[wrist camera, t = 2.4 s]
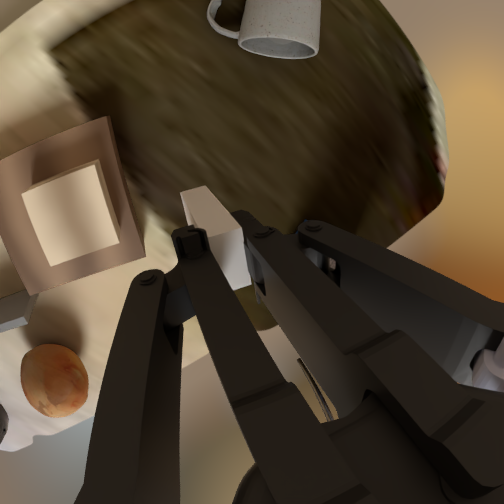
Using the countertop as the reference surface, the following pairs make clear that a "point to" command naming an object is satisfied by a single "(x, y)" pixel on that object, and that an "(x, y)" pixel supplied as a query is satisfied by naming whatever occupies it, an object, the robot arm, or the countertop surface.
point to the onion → (54, 380)
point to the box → (16, 310)
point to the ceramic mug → (276, 27)
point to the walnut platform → (50, 164)
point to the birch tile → (72, 213)
